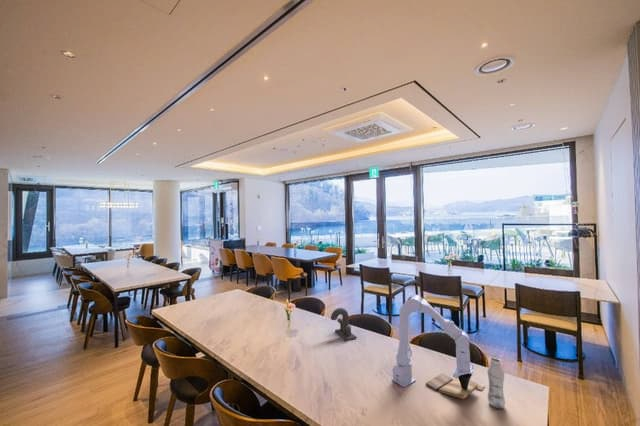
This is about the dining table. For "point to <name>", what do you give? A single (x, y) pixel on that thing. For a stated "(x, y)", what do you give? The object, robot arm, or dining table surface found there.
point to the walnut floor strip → (438, 382)
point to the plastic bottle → (496, 384)
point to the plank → (480, 386)
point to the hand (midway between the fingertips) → (464, 388)
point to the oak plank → (457, 389)
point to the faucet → (343, 324)
